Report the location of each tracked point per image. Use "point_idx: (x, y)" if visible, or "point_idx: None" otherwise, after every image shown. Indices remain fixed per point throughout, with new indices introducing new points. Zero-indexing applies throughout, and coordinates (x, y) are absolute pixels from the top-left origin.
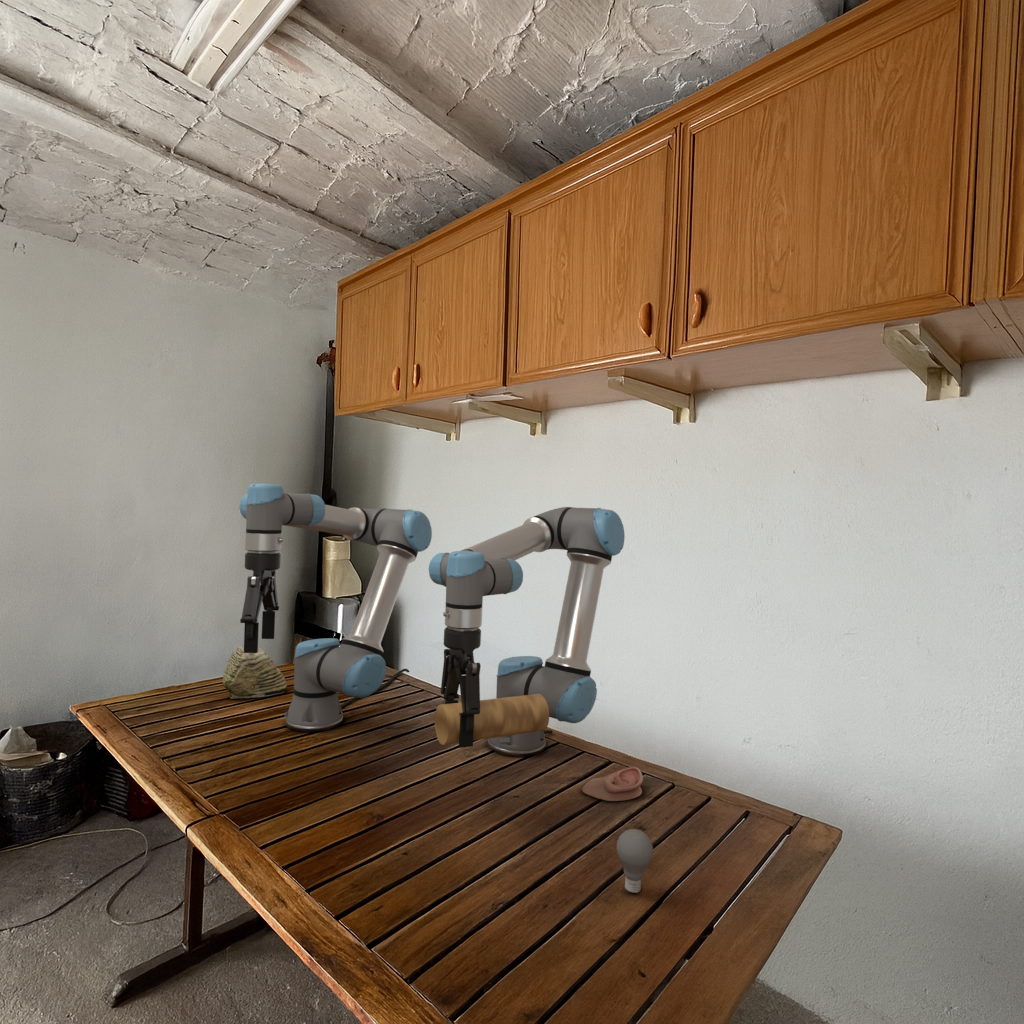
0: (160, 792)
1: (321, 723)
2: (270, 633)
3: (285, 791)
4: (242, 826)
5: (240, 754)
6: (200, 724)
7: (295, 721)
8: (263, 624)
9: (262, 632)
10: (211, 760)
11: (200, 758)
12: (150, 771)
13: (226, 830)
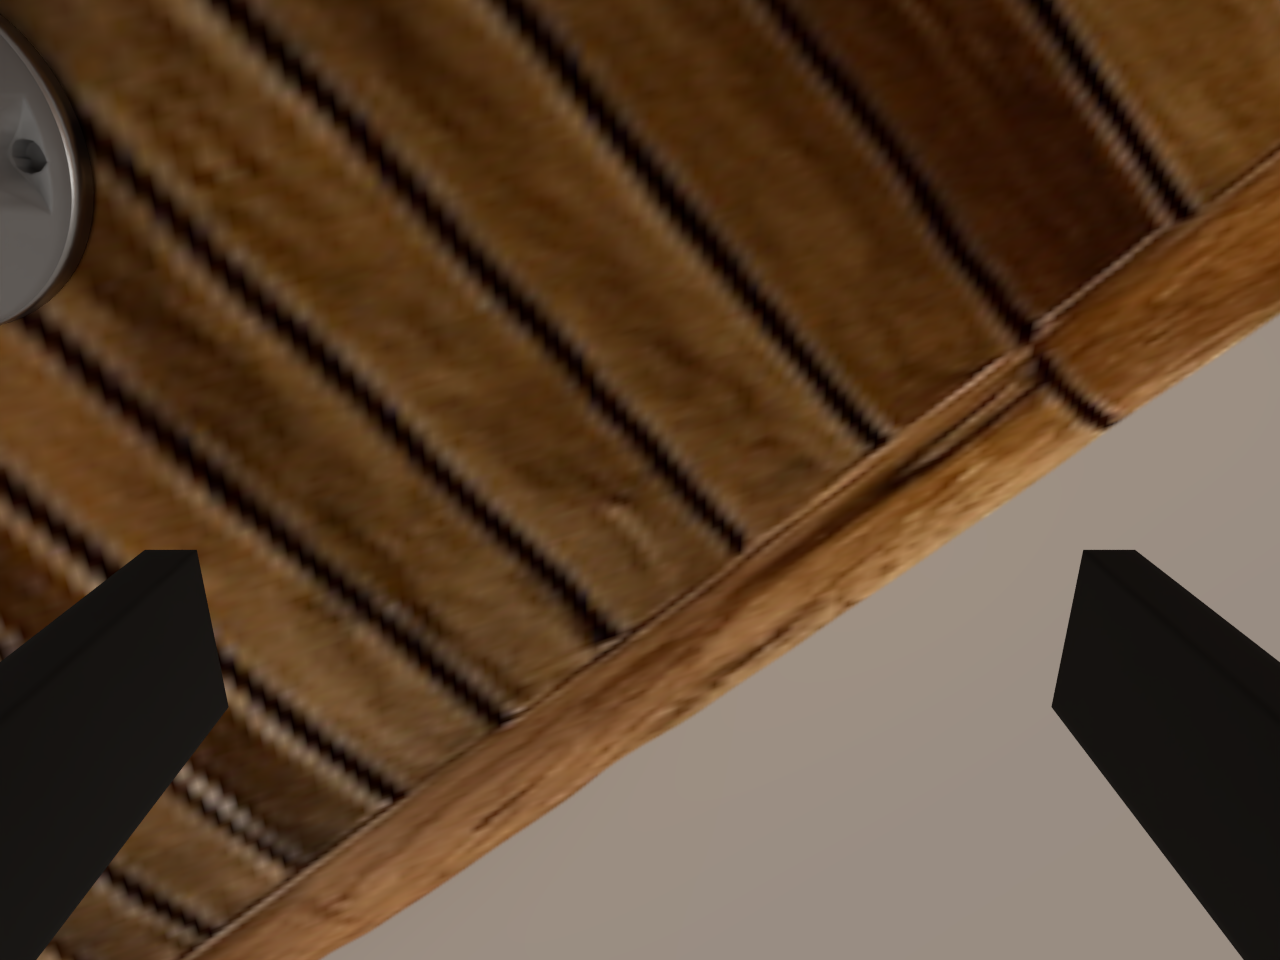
0: (815, 618)
1: (22, 75)
2: (155, 640)
3: (856, 107)
4: (1163, 215)
5: (436, 439)
6: None
7: (47, 250)
8: (93, 859)
9: (174, 763)
10: (512, 540)
11: (493, 589)
12: (626, 717)
13: (1181, 271)
